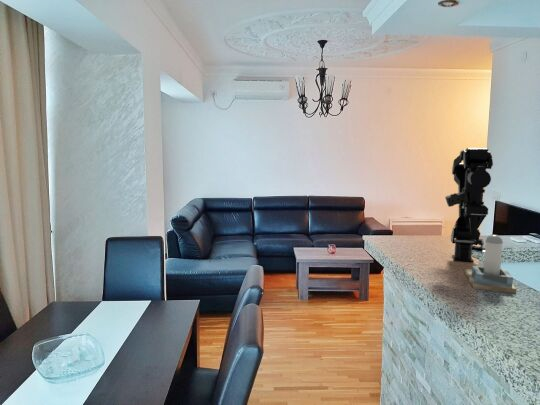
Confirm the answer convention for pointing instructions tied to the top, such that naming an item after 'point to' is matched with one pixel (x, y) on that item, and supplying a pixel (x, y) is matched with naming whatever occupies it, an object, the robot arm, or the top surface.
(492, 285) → the jig
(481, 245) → the build plate
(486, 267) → the cylinder
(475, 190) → the robot arm
